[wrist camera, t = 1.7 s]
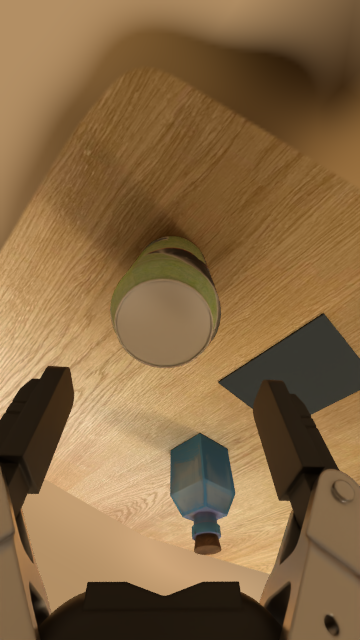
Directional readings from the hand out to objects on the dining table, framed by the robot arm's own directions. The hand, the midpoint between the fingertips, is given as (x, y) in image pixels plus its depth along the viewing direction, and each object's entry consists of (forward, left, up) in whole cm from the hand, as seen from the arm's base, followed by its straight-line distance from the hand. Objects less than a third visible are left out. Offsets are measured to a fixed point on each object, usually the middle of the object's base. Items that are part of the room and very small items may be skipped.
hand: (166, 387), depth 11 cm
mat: (+14, +17, -15) cm, 26 cm away
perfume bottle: (+30, +7, -15) cm, 34 cm away
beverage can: (0, 0, -15) cm, 15 cm away
